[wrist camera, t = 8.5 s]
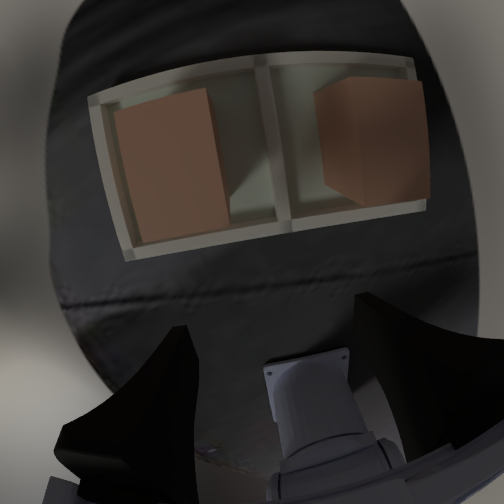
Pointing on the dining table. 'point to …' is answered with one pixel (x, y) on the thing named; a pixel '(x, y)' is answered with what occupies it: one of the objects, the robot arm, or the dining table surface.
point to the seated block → (174, 165)
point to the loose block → (374, 139)
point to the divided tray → (250, 144)
